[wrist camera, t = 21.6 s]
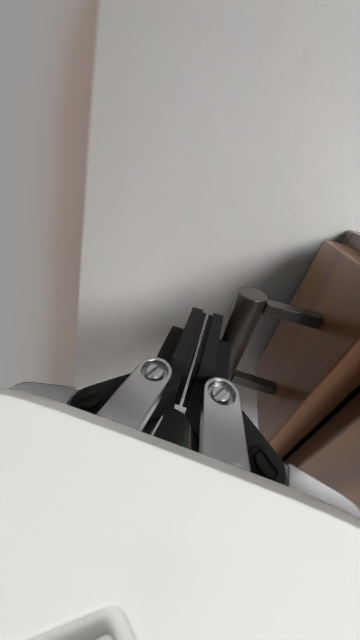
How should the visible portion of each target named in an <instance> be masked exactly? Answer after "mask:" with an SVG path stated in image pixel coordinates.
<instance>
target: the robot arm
mask: <svg viewBox="0 0 360 640" xmlns="http://www.w3.org/2000/svg"><path fill="white" fill-rule="evenodd" d="M202 312H203V310H201V309H198V308H194V307H193V309H192V312H191V314H190V316H189V319H188V321H187V323H186V325H185V328H184V329H182V328H179V327H175V326H173V327H172V328H171V330H170V332H169V334H168V336H167V338H166V340H165V342H164V344H163V346H162V348H161V350H160V351H159V353H158V355H157V357H151V358H147V359H145V360H143V361H142V362H141V363H140V364H139V365H138V366H137V367H136V368H135V369H134V371H133V372H132V373H130V374H127V375H124V376H120V377H117V378H114V379H111V380H108V381H104V382H101V383H98V384H95V385H92V386H88V387H86V388H83V389H81V390H76V388H75V387H70V386H62V385H53V384H43V383H35V382H23V383H20V384H16V385H14V386H13V387H11V388H9V389H0V640H360V509H359V508H358V507H357V506H356V505H355V504H354V503H353V502H352V501H351V500H349V499H348V498H347V497H346V496H344V495H342V494H340V493H339V492H337V491H335V490H334V489H332V488H330V487H329V486H327V485H325V484H324V483H322V482H320V481H319V480H317V479H315V478H314V477H312V476H310V475H309V474H307V473H305V472H304V471H302V470H300V469H299V468H297V467H295V466H294V465H292V464H289V465H286V464H285V463H283V461H282V460H281V458H280V457H279V455H278V454H277V453H276V451H275V450H274V449H273V448H272V446H271V445H270V444H269V443H268V441H267V440H266V439H265V438H264V436H263V435H262V434H261V433H260V432H259V430H258V429H257V428H256V427H255V425H254V424H253V423H252V422H251V420H250V419H249V418H248V417H247V415H246V414H245V413H244V412H243V410H242V407H241V400H240V394H239V391H238V389H237V388H236V386H235V385H234V384H233V383H232V382H230V381H228V377H229V365H230V354H231V343H230V342H226V341H223V340H220V333H221V327H222V321H223V315H219V314H216V313H213V315H209V316H208V320H207V323H206V326H205V330H204V333H203V337H202V340H201V344H200V347H199V351H198V354H197V358H196V361H195V365H194V368H193V372H192V375H191V379H190V382H189V386H188V389H187V393H186V396H185V400H184V403H183V407H186V408H187V409H186V412H185V417H186V419H187V420H188V422H189V424H190V428H189V439H188V449H187V448H184V447H182V446H179V445H176V444H173V443H171V442H168V441H165V440H163V439H160V438H157V437H155V436H153V435H154V433H155V431H156V429H157V428H158V426H159V424H160V422H161V420H162V418H163V415H165V414H167V413H170V412H172V410H173V409H174V406H175V404H177V405H179V404H180V401H181V398H182V395H183V391H184V388H185V385H186V381H187V378H188V375H189V372H190V368H191V365H192V362H193V358H194V355H195V352H196V348H197V345H198V341H199V337H200V334H201V330H202V327H203V323H204V319H205V316H206V313H202Z"/></svg>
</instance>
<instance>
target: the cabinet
mask: <svg viewBox="0 0 360 640" xmlns="http://www.w3.org/2000/svg"><path fill="white" fill-rule="evenodd" d="M341 243H342V244H346V245H348V246H350V247H351V248H353V249H355V250H356V251H358V252H360V232H356V231H351V230H348V231H347V233H346V234H345V236H344V238H343V239H342V241H341ZM281 460H282V461H283V463H285V464H286V465H289V464H292V465H294V466H295V467H297V468H299V469H300V470H302V471H304V472H305V473H307V474H309V475H310V476H312V477H314V478H315V479H317V480H319V481H320V482H322V483H324V484H325V485H327V486H329V487H330V488H332V489H334V490H335V491H337V492H339V493H340V494H342V495H344V496H346V497H347V498H348V499H349V500H351V501H352V502H353V503H354V504H355V505H356V506H357V507H358V508H359V509H360V392H359V393H358V394H357V395H356V396H354V397H353V398H352V399H351V400H350V401H349V402H348V403H347V404H346V405H345V406H344V407H343V408H341V409H340V410H339V411H338V412H337V413H336V414H335V415H334V416H333V417H332V418H331V419H330V420H328V421H327V422H326V423H325V424H324V425H323V426H322V427H321V428H320V429H319V430H318V431H317V432H315V433H314V434H313V435H312V436H311V437H310V438H309V439H308V440H307V441H306V437H304V438H303V439H302V440H301V441H300V442H299V443H298V444H297V445H296V446H295V447H294V448H293V449H292V450H291V451H290V452H289V453H288V454H287V455H286V456H284V457H283V458H282V459H281Z"/></svg>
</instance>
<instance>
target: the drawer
mask: <svg viewBox="0 0 360 640" xmlns="http://www.w3.org/2000/svg"><path fill="white" fill-rule="evenodd" d="M261 313H262V314H263V315H266V316H270V317H273V318H277V319H281V321H280V323H279V325H278V327H277V329H276V331H275V332H274V334H273V336H272V338H271V340H270V342H269V344H268V345H267V347H266V349H265V351H264V353H263V355H262V357H261V358H260V360H259V362H258V364H257V366H256V376H254V375H251V374H247V373H244V372H241V371H238V370H236V368H237V366H238V363H239V361H240V359H241V357H242V355H243V353H244V350H245V348H246V346H247V344H248V342H249V339H250V337H251V335H252V333H253V331H254V329H255V326H256V324H257V322H258V320H259V318H260V316H261ZM220 340H223V341H226V342H230V343H231V354H230V365H229V377H228V381H231V382H232V383H235V384H238V385H241V386H245V387H248V388H251V389H254V390H257V407H258V426H259V432H260V433H261V434H262V435H263V436H264V438H265V439H266V440H267V441H268V443H269V444H270V445H271V446H272V448H273V449H274V450H275V451H276V453H277V454H278V455H279V457H280V458H281V459H282V458H283V457H284V456H286V455H287V454H288V453H289V452H290V451H291V450H292V449H293V448H294V447H295V446H296V445H297V444H298V443H299V442H300V441H301V440H302V439H303V438H304V437H306V441H307V440H308V439H309V438H310V437H311V436H312V435H313V434H314V433H315V432H317V431H318V430H319V429H320V428H321V427H322V426H323V425H324V424H325V423H326V422H327V421H328V420H330V419H331V418H332V417H333V416H334V415H335V414H336V413H337V412H338V411H339V410H340V409H341V408H343V407H344V406H345V405H346V404H347V403H348V402H349V401H350V400H351V399H352V398H353V397H354V396H356V395H357V394H358V393H359V392H360V252H358V251H356V250H355V249H353V248H351V247H350V246H348V245H346V244H342V243H337V242H332V241H327V240H324V241H323V243H322V245H321V247H320V249H319V251H318V253H317V254H316V256H315V258H314V260H313V262H312V264H311V266H310V267H309V269H308V271H307V273H306V275H305V277H304V279H303V280H302V282H301V284H300V286H299V288H298V290H297V292H296V293H295V295H294V297H293V299H292V301H291V303H290V305H288V304H284V303H281V302H277V301H273V300H269V299H268V297H267V295H266V294H265V293H263V292H262V291H260V290H258V289H255V288H251V287H240V288H239V289H238V290H237V293H236V296H235V299H234V302H233V304H232V307H231V310H230V313H229V316H228V319H227V322H226V324H225V327H224V330H223V333H222V336H221V339H220Z"/></svg>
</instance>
